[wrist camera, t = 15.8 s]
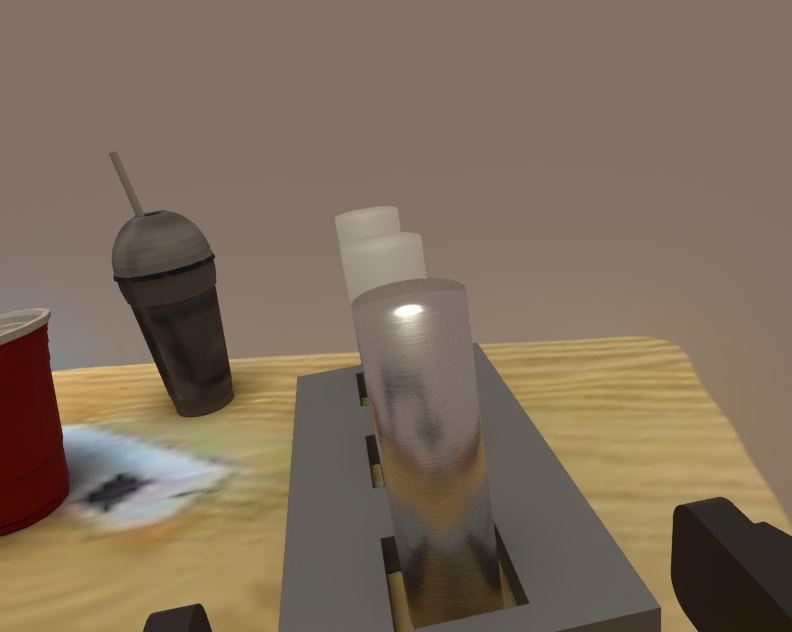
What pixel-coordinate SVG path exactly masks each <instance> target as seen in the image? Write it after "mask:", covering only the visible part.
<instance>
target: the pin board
mask: <svg viewBox="0 0 792 632" xmlns="http://www.w3.org/2000/svg"><path fill="white" fill-rule="evenodd" d="M335 222H336V227H337V233H338V237H339V243H340V252H341V258H342V262H343V268H344V273H345V279H346V284H347V289H348V295H349V300H350V305H351V304H352V302H353V300H354V299H355V298H356V297H358V296H359V295H361V294H362V293H364V292H366V291H369V290H371V289H373V288H376V287H379V286H382V285H386V284H389V283H394V282H398V281H404V280H411V279H421V278H426V270H425V263H424V256H423V248H422V241H421V236H420V235H418V234H416V233H409V232H401V230H400V223H399V217H398V210H397V208H396V207H392V206H381V207H371V208H364V209H359V210H354V211H350V212H347V213H344V214H341V215H339V216H337V217H336V218H335ZM351 311H352V309H351ZM352 316H353V314H352ZM353 321H354V319H353ZM354 327H355V325H354ZM355 332H356V330H355ZM356 337H357V335H356ZM357 342H358V340H357ZM472 347H473V355H474V363H475V372H476V380H477V389H478V397H479V405H480V414H481V422H482V431H483V439H484V447H485V456H486V464H487V472H488V481H489V489H490V498H491V506H492V514H493V523H494V531H495V539H496V548H497V555H498V557H499V560H500V562H501V564H502V567H503V569H504V572H505V574H506V577H507V579H508V582H509V584H510V587H511V589H512V591H513V594H514V596H515V599H516V601H517V604H518V606H516V607H512V608H507V609H503V610H498V611H494V612H489V613H485V614H480V615H476V616H471V617H467V618H462V619H458V620H454V621H449V622H445V623H440V624H436V625H431V626H427V627H422V628H418V629H413V630H409V631H404V632H661V607H660V605H659V604H658V602H657V601H656V600H655V598H654V597H653V595H652V594H651V592H650V591H649V590H648V588H647V587H646V585H645V584H644V582H643V581H642V579H641V578H640V577H639V575H638V574H637V572H636V571H635V569H634V568H633V566H632V565H631V564H630V562H629V561H628V559H627V558H626V556H625V555H624V554H623V552H622V551H621V549H620V548H619V546H618V545H617V543H616V542H615V541H614V539H613V538H612V536H611V535H610V533H609V532H608V531H607V529H606V528H605V526H604V525H603V523H602V522H601V520H600V519H599V518H598V516H597V515H596V513H595V512H594V510H593V509H592V508H591V506H590V505H589V503H588V502H587V500H586V499H585V497H584V496H583V495H582V493H581V492H580V490H579V489H578V487H577V486H576V484H575V483H574V482H573V480H572V479H571V477H570V476H569V474H568V473H567V472H566V470H565V469H564V467H563V466H562V464H561V463H560V461H559V460H558V459H557V457H556V456H555V454H554V453H553V451H552V450H551V449H550V447H549V446H548V444H547V443H546V441H545V440H544V438H543V437H542V436H541V434H540V433H539V431H538V430H537V428H536V427H535V426H534V424H533V423H532V421H531V420H530V418H529V417H528V415H527V414H526V413H525V411H524V410H523V408H522V407H521V405H520V404H519V402H518V401H517V400H516V398H515V397H514V395H513V394H512V392H511V391H510V390H509V388H508V387H507V385H506V384H505V382H504V381H503V379H502V378H501V377H500V375H499V374H498V372H497V371H496V369H495V368H494V367H493V365H492V364H491V362H490V361H489V359H488V358H487V356H486V355H485V354H484V352H483V351H482V349H481V348H480V346H479V345H478V343H472ZM358 348H359V346H358ZM359 353H360V351H359ZM360 358H361V356H360ZM361 364H362V361H361ZM365 396H368V393H367V388H366V382H365V377H364V372H363V367H362V365H358V366H352V367H347V368H342V369H337V370H332V371H326V372H321V373H316V374H311V375H306V376H300V377H298V378H297V392H296V405H295V418H294V432H293V445H292V458H291V472H290V485H289V499H288V512H287V525H286V539H285V552H284V565H283V579H282V592H281V605H280V619H279V632H396V628H395V622H394V615H393V608H392V602H391V595H390V589H389V582H388V575H387V573H389V572H394V571H398V570H401V567H400V561H399V556H398V551H397V546H396V540H395V535H394V530H393V524H392V519H391V514H390V509H389V503H388V498H387V493H386V488H385V482H384V486H382V487H377V488H374V483H373V477H372V470H371V464H376V463H380V464H381V461H380V456H379V451H378V446H377V440H376V435H375V430H374V425H373V419H372V414H371V409H370V404H369V405H366V406H362V404H361V398H360V397H365ZM368 401H369V398H368ZM381 470H382V467H381ZM382 475H383V472H382ZM383 480H384V477H383Z"/></svg>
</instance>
